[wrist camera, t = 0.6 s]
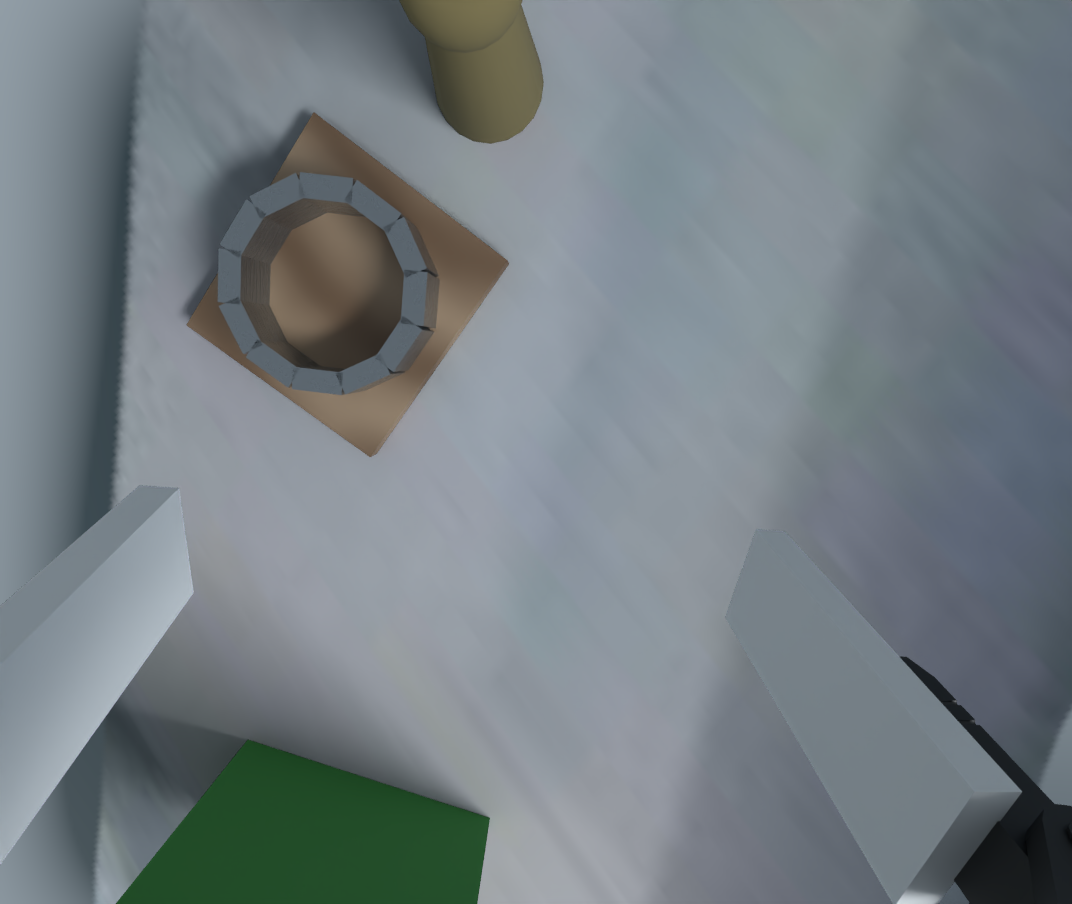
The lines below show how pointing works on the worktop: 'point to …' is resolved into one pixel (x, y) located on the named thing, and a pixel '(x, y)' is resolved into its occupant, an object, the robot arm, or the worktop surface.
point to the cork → (480, 64)
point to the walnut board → (359, 290)
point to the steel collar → (250, 269)
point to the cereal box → (313, 841)
